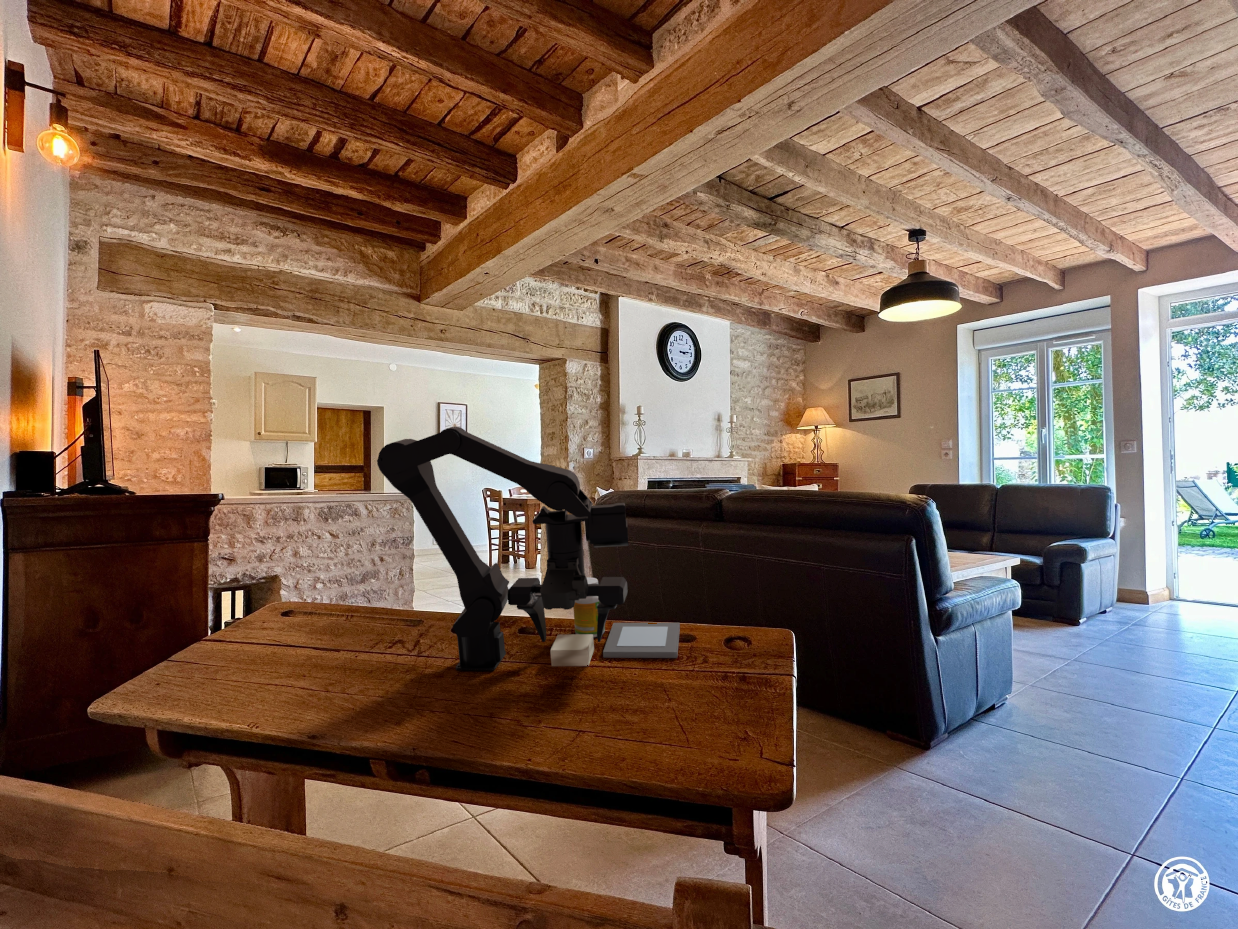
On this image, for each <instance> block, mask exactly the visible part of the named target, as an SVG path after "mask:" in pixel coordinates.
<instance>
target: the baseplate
mask: <svg viewBox="0 0 1238 929" xmlns="http://www.w3.org/2000/svg"><path fill="white" fill-rule="evenodd" d="M648 623H649V622H613V624H612V626H611V629H610V631H609V635H608V637H607V640H606V642H605V645H604V649H603V651H602V658H606V659H607V658H613V659H614V658H616V659H622V658H624V659H625V658H627V659H629V658H630V659H634V658H635V659H641V658H642V659H677V658H678V655H679V654H678V652H679V643H680V642H679V640H680V629H681V623H680V622H656V623H657V624H648Z"/></svg>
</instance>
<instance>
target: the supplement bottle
mask: <svg viewBox="0 0 1238 929" xmlns="http://www.w3.org/2000/svg"><path fill="white" fill-rule="evenodd" d="M586 578H587V582H588V584H599V580H598V579H597V578H596V577H590V576H589V577H588V576H586ZM599 602H600V601H599V600H598V596H587V597H586V599H579V600H575V605H574V607H573V620H574V621H573V622H574V632H575V634H593V639H594V638H597V622H598V610H597V606H598V604H599ZM581 620H588V621H581ZM605 630H606V625H605V626H604V630H603V634H605Z"/></svg>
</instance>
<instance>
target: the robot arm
mask: <svg viewBox="0 0 1238 929" xmlns="http://www.w3.org/2000/svg"><path fill="white" fill-rule="evenodd" d="M448 455H452V456H454V457H457V458H460V459H461V460H464V461H465V462H468V463H470V464H473V465H474V466H477V467H479V468H481V469H483V470H486V471H488V472H489V473H492V474H494V475H497V476H499V477H501V478H503V479H506V480H508V481H510V482H512V483H514V484H516V485H518V486H520V487H522V488H523V489H524V490H525V491H526V492H527V493H528V494H530V495H531V496H532V497H533V498H534V499H536V500H537V501H539V502H540V503H542V504H543V505H544V506H542V507H541V509H540V511H539V512H538V513H537V514H536V515H535V517H533V520H532V524H533V525H545V536H546V537H545V538H546V548H547V559H546V570H545V575H544V578H543V581H542V584H541V580H540V578H539V577H518V578H517V580H516V581H515V582H514V583H513V584H512V585H511V586H510V587H508V585H509V584H510V580H508V579H507V578H506V577H505V576H504V575H503V572H502V570H501V567H500V566H499V564H498V563H497V562H495V563H494V564H493V565H490V566H489V565H488V564H487V563H485V562H484V561H483V560H482V559H481V558H480V557H479V554H478V553H477V551H476V550H475V548H474V546H473V544H472V543H471V542H470V539H469V537H468V536H467V535H466V533H465V531H464V529H463V528H462V526H461V525H460V523H459V522H458V520H457V517H456V516H455V514H454V513H453V510H452V509H451V507H450V506H449V505H448V503H447V501H446V500H445V498H444V496H443V494H442V493H441V491H440V489H439V488H438V486H437V483H436V479H435V472H434V467H433V464H432V462H431V461H434V460H437V459H439V458H441V457H444V456H448ZM376 463H377V467H378V469H379V471H380V473H381V474H382V475H383V476H384V478H386V480H387V481H388V482H389V483H390V485H392V487H393V488H394V489H396V490H397V491H399V492H400V493H401V494H402V495H404V496H405V497H406V498H407V499H408V500H410V502H411V503H412V505H413V507H414V508H415V510H416V512H417V513H418V515H419V517H420V518H421V520H422V522H423V523H424V524H425V526H426V529H427V530H428V531H429V533H430V535H431V537H433V539H434V541H435V543H436V544H437V546H438V548H439V550H440V551H441V553H442V555H443V556H444V559H446V561H447V562H448V564H449V566H450V568H451V570H452V571H453V573H454V574H455V577H456V581H457V585H458V590H459V595H460V596H459V597H460V599H461V601H462V604H463V606H464V609H463V610H462V611H461V612H460V614H459V616H458V617H457V619H456V620H455V621H454V623H453V625H452V628H453V630H454V633H455V634H456V638H457V640H456V641H457V649H458V650H457V651H458V658H459V660H458V663H457V665H455V671H480V672H481V671H487V672H489V671H495V670H496V668H497V667H498V666H499V664H500V663H501V662H502V660H503V658H504V657H505V656H506V655H507V651H506V648H505V637H504V636H505V635H504V632H503V631H501V625H500V622H499V621H497V620H498V619H499V618H500V616H501V615H502V612H503V611H504V609H505V607H506V605H507V603H508V605H509V606H516V608H517V610H521V611H523V612H525V613H526V614H527V615H528V617H529V618H530V619H531V621H532V623H533V625H534V627H535V630H536V631H537V633H538V636H539V638H540V640H541V642H542V643H545V642H546V641H547V624H546V623H547V622H546V615H545V610H554V609H556V610H557V609H563V610H564V611H565V610H572V608H573V607H574V605H575V600H579V599H586V597H587V596H598V600H599V601H600V602H599V604H598V606H597V610H598V622H597V637H596V638H597V639H596V640H597V643H601V640H602V638H603V634H604V633H603V630H604V626H605V627H606V622H607V618H608V615H609V613H610V610H614V609H616V608H617V607H618V605H624V604H625V601H626V599H627V596H628V592H629V591H628V582H627V580H626V578H625V577H624V576H603V577H602V578H601V580H600V582H599V583H598V584H588V582H587V578H586V577H587V576H586V573H585V559H584V556H585V550H584V545H583V544H584V542H583V530H582V529H583V527H582V525H583V524H582V523H583V522H584V524H585V525H584V527H585V529H584V530H585V540H586V542H589V544H590V545H593V548H607V547H608V548H609V547H627V546H629V532H628V530H629V528H628V519H627V517H626V516H627V514H626V503H625V502H615V503H611V504H596V505H595V504H593V501H592V500H591V499H590V498H589V497H588V495H586V493H585V492H584V491H583V490H582V489H581V484H580V480H579V477H578V476H577V474H576V473H574V472H573V471H572V470H570V469H567V468H563V467H560V466H555V465H552V464H548V463H542V462H541V463H540V462H536V461H534V460H533V461H532V460H529V459H528V458H527V459H526V458H525V457H522V456H520V455H518V454H515V453H514V452H511V451H509V450H507V449H505V448H503V447H501V446H498V445H497V444H495V443H492V442H489V441H487V440H485V439H482V438H481V437H479V436H477V435H474V434H472V433H470V432H468V431H467V430H465V429H464V428H462V427H460V426H452V427H451V426H450V427H448V428H445V429H443V430H441V431H440V432H438V433H434V434H433V435H430V436H427V437H424V438H421V439H418V440H416V439H412V438H404V439H400V440H397V441H394V442H390V443H387V444H386V445H384V446H383V447H382V448H381V449H380V451H379V452H378V457H377V459H376ZM548 508H549V509H548ZM568 513H569V514H568ZM573 609H574V608H573Z"/></svg>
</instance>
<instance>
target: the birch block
mask: <svg viewBox="0 0 1238 929" xmlns="http://www.w3.org/2000/svg"><path fill="white" fill-rule="evenodd" d="M594 641H595V640H594V638H593V634H576V633H575V634H574V633H573V634H557V636H556V638H555V640H554V642H553V643H552V646H551V648H550V662H551V667H589V666H590V662H591V659H592V656H593V655H594V652H595V645H594V644H595V642H594ZM587 665H588V666H587Z"/></svg>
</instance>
